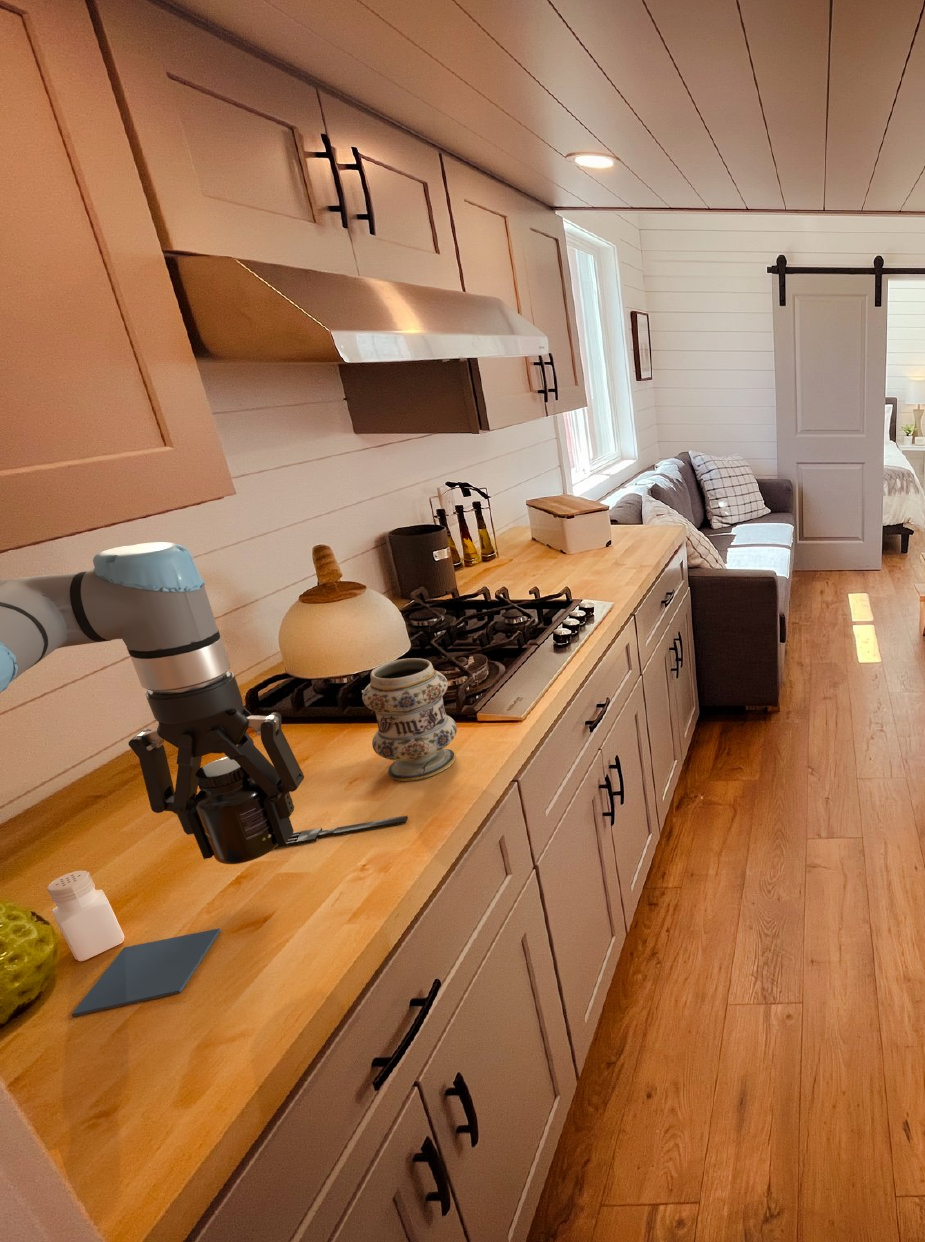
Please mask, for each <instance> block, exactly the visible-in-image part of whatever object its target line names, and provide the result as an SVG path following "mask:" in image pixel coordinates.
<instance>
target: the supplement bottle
mask: <svg viewBox="0 0 925 1242" xmlns="http://www.w3.org/2000/svg"><path fill="white" fill-rule="evenodd" d="M196 779H197V781H198V788H199V791H198V792H197V795H196V797H195V800H194V806H195V809H196V812H197V814H198V817H199V820H200V822H201V825H202V827H203V830H204V832H205V835H206V838H207V840H208V843H209V845H210V848H211V850H212V853H213V857H214V859H215V860H216V861H217V862H218V863H220V864H224V865H239V864H240V865H241V864H244V863H248V862H252V861H254V860H256V859H259V858H261V857H264V856H265V855H268V854H269V853H270V852H272V851H273V850H275V849H274V848H276V847H277V846H278V843H277V841H276V838H275V835H274V832H273V829H272V826H271V823H270V821H269V818H268V815H267V812H266V809H265V806H264V803H263V802H264V800H265V799H266V798H267V797H268V795H267V794H266V793H265V792H264V790H263V789H262V788H261V787H260V786H259V785H258V784H257V783H256V782H255V781H254V780H253V779H252V778H251V777H250V776H249V775H248V774H247V773H246V772H245V770H244V769H243V768H242V767H241V766H240V765H239V764H238V763H237V762H236V761H235V760H231V759H229V758H228V757H227V756H226V757H222V758H219V759H216V760H213V761H210V762H209V763H206V764H205V765H203V766H201V767H200V769H199V770H198V771H197V772H196ZM276 849H277V848H276Z"/></svg>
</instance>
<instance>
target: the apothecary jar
mask: <svg viewBox="0 0 925 1242" xmlns="http://www.w3.org/2000/svg"><path fill="white" fill-rule="evenodd" d="M448 686H449V682H448V679H447V678H446V676H445V675H444V674H442V673H441V672H440V671H438V670H435V668H434V665H433V664H432V662H431V661H429V660H428V659H424V658H417V657H414V658H413V657H411V658H409V657H408V658H402V659H395V660H391V661H388V662H385V663H382V664H380V665H378V666H376V667H374V668H373V669H372V670H371V671H370V683H368V685H366V687H365V688H364V690H363V691H362V696H361V699H362V702H363V704H364V706H365V707H366V708H367V709H369V710H372V711H374V713H375V717H376V723H377V728H378V729H377V730H376V732H375V734H374V735H373V738H372V742H371V746H372V749H373V751H374V753H375V754H376V755H377V756H379V757H380V758H384V759H387V760H389V761H393V762H392V764H391V765H390V766H389V768H388V770H387V774H388V776H389V777H390V779H392V780H395V781H399V782H411V781H413V782H414V781H419V780H425V779H427V778H430V777H433V776H436V775H438V774H440V773H442V772H444V771H445V770H447V769H449V768H450V767H451V766H452V765H453V764H454V762H455V761H456V757H457V756H456V753H455V752H454V750H452V749H448V748H447V747H448V746H449V745H450V744H451V743H452V742H453V741H454V739H455V737H456V736H457V732H458V726H457V725H458V724H457V723H456V721H455V720H454V719H453V718H452V717H451V716H450V715H448V714H447V712H446V709H445V704H444V699H443V696H444V695H445V694H446V692H447V690H448Z"/></svg>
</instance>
